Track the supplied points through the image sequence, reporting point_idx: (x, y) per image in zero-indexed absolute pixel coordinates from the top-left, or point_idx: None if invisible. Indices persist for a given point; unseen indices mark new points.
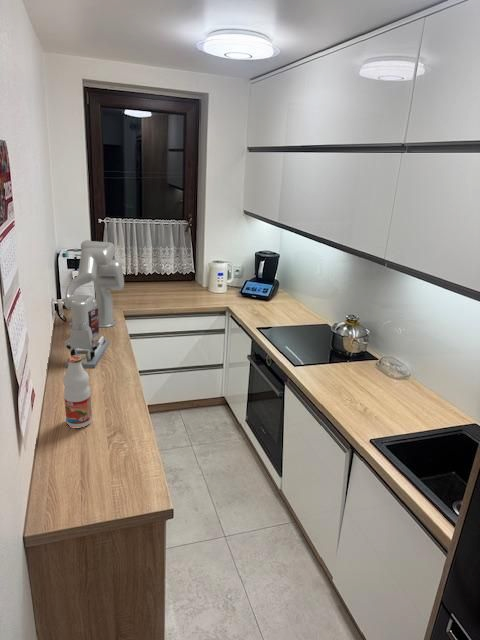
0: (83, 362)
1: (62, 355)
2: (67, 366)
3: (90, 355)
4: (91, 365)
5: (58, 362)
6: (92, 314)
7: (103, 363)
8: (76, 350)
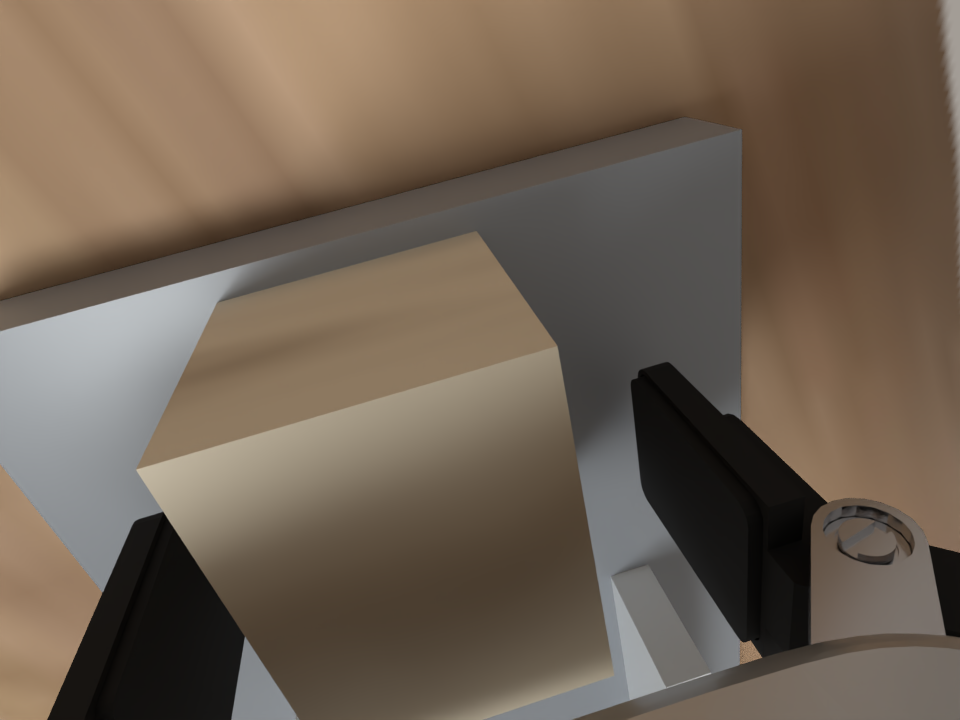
0: (265, 303)
1: (871, 499)
2: (653, 130)
3: (143, 603)
4: (32, 312)
5: (882, 271)
6: None
7: (10, 552)
8: (715, 665)
